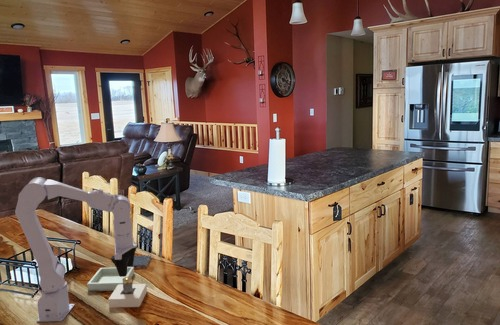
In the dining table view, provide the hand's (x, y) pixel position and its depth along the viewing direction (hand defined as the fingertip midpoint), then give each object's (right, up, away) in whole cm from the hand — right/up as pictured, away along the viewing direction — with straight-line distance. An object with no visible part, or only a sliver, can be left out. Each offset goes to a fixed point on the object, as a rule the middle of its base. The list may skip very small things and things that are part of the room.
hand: (126, 270), depth 131 cm
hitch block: (0, -10, +2) cm, 10 cm away
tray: (-10, -8, +15) cm, 19 cm away
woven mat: (-5, -6, +30) cm, 31 cm away
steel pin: (0, -10, +2) cm, 10 cm away
